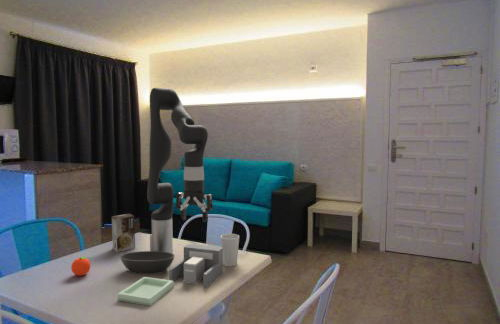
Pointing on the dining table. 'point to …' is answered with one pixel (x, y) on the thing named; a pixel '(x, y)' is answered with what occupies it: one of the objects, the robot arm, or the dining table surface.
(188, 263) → the white block
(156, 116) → the robot arm
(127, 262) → the bowl
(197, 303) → the dining table surface
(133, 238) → the coffee box
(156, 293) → the tray
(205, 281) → the bay
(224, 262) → the cup
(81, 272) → the clementine
